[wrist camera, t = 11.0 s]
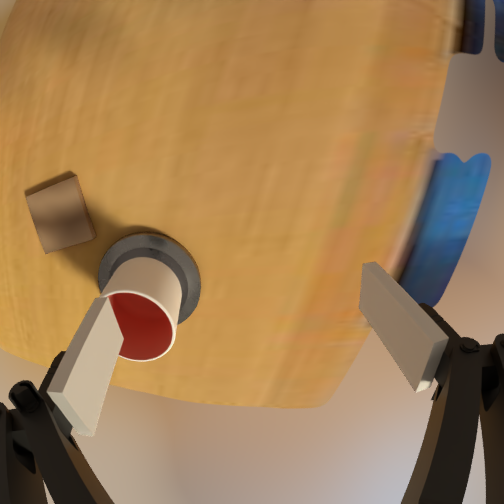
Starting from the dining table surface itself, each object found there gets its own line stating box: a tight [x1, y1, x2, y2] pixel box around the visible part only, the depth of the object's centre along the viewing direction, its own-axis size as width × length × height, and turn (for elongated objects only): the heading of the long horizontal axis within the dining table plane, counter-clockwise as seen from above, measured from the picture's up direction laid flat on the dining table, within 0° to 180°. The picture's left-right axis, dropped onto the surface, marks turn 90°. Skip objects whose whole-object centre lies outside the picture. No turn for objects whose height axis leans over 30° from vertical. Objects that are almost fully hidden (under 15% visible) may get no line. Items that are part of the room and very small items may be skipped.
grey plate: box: [98, 232, 201, 325], centre depth 42 cm, size 15×15×2 cm
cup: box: [99, 257, 182, 361], centre depth 36 cm, size 10×10×10 cm
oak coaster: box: [26, 176, 96, 254], centre depth 37 cm, size 9×9×1 cm
